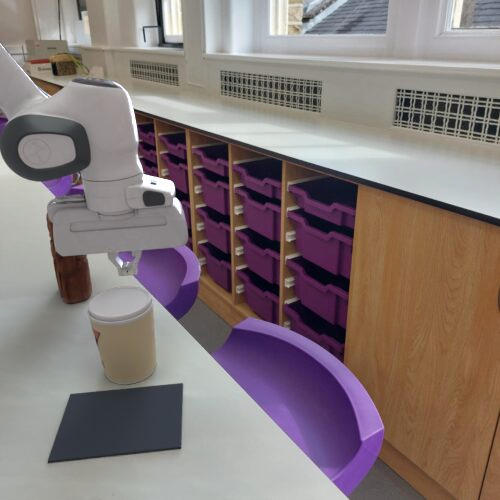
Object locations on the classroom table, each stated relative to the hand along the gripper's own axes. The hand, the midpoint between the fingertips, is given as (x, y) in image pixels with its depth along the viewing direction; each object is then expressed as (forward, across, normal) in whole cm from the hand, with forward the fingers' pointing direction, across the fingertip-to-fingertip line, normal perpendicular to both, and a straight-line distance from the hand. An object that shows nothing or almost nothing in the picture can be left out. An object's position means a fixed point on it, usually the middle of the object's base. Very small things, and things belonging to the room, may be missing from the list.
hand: (128, 274), depth 79 cm
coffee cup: (+12, 0, -9) cm, 15 cm away
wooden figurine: (+12, -14, +18) cm, 25 cm away
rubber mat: (+12, 0, -20) cm, 23 cm away
